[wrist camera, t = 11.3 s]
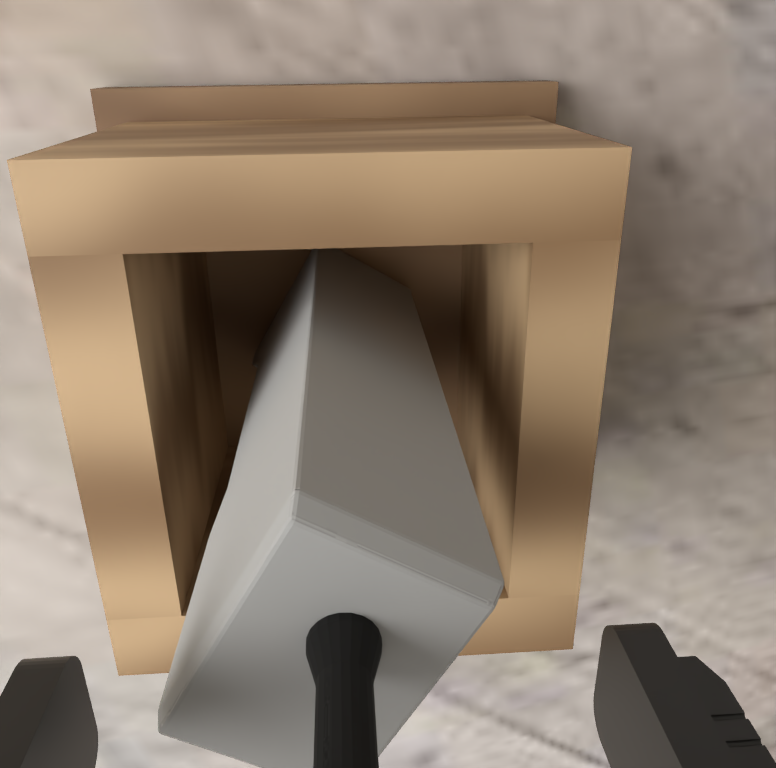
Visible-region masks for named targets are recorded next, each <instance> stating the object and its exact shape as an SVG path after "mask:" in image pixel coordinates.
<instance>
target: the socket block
mask: <svg viewBox="0 0 776 768" xmlns="http://www.w3.org/2000/svg"><path fill="white" fill-rule="evenodd" d="M558 83H559V82H555V81H484V82H420V83H356V84H291V85H227V86H163V87H103V88H96V89H90V91H91V97H92V103H93V109H94V115H95V121H96V127H97V132H95V133H92V134H88V135H85V136H82V137H79V138H76V139H73V140H69V141H66V142H63V143H60V144H57V145H53V146H50V147H47V148H44V149H41V150H38V151H34V152H31V153H28V154H25V155H22V156H18V157H15V158H12V159H9V160H7V163H8V167H9V172H10V177H11V181H12V186H13V190H14V195H15V200H16V204H17V209H18V214H19V218H20V223H21V227H22V232H23V237H24V241H25V246H26V250H27V255H28V260H29V264H30V269H31V274H32V278H33V283H34V287H35V292H36V297H37V301H38V306H39V310H40V315H41V320H42V324H43V329H44V334H45V338H46V343H47V347H48V352H49V357H50V361H51V366H52V370H53V375H54V380H55V384H56V389H57V394H58V398H59V403H60V407H61V412H62V417H63V421H64V426H65V430H66V435H67V440H68V444H69V449H70V454H71V458H72V463H73V467H74V472H75V477H76V481H77V486H78V490H79V495H80V500H81V504H82V509H83V513H84V518H85V523H86V527H87V532H88V537H89V541H90V546H91V550H92V555H93V560H94V564H95V569H96V573H97V578H98V583H99V587H100V592H101V597H102V601H103V606H104V610H105V615H106V620H107V624H108V629H109V633H110V638H111V643H112V647H113V652H114V657H115V661H116V666H117V670H118V675H119V676H121V675H138V674H155V673H169V672H170V668H171V665H172V661H173V658H174V655H175V651H176V648H177V644H178V641H179V638H180V634H181V631H182V627H183V624H184V621H185V617H186V614H187V610H188V607H189V604H190V600H191V597H192V593H193V590H194V587H195V583H196V580H197V576H198V573H199V570H200V566H201V563H202V559H203V556H204V553H205V549H206V546H207V543H208V539H209V536H210V533H211V530H212V528H213V525H214V522H215V520H216V517H217V514H218V512H219V509H220V506H221V504H222V501H223V499H224V496H225V493H226V491H227V488H228V484H229V480H230V476H231V472H232V468H233V464H234V460H235V456H236V452H237V448H238V444H239V440H240V436H241V432H242V428H243V424H244V420H245V416H246V412H247V408H248V404H249V400H250V396H251V392H252V388H253V384H254V380H255V376H256V372H257V367H255V366H253V365H252V362H253V358H254V355H255V353H256V351H257V349H258V347H259V345H260V343H261V342H262V340H263V338H264V336H265V334H266V332H267V331H268V329H269V327H270V325H271V323H272V322H273V320H274V318H275V316H276V314H277V312H278V311H279V309H280V307H281V305H282V303H283V301H284V300H285V298H286V296H287V294H288V292H289V291H290V289H291V287H292V285H293V283H294V281H295V280H296V278H297V276H298V274H299V272H300V270H301V269H302V267H303V265H304V263H305V261H306V259H307V258H308V256H309V254H310V252H311V250H312V249H324V248H337V249H339V250H341V251H342V252H344V253H346V254H348V255H350V256H352V257H353V258H355V259H357V260H359V261H361V262H362V263H364V264H366V265H368V266H370V267H371V268H373V269H375V270H377V271H379V272H380V273H382V274H384V275H386V276H388V277H389V278H391V279H393V280H395V281H397V282H399V283H400V284H402V285H404V286H406V287H408V288H409V289H410V290H411V294H412V297H413V300H414V303H415V306H416V309H417V312H418V315H419V318H420V322H421V325H422V328H423V331H424V334H425V337H426V340H427V343H428V346H429V349H430V353H431V356H432V359H433V362H434V365H435V368H436V371H437V374H438V377H439V381H440V384H441V387H442V390H443V393H444V396H445V399H446V402H447V405H448V408H449V412H450V415H451V418H452V421H453V424H454V427H455V430H456V433H457V436H458V439H459V443H460V446H461V449H462V452H463V455H464V458H465V461H466V464H467V467H468V470H469V474H470V477H471V480H472V483H473V486H474V489H475V492H476V495H477V498H478V501H479V505H480V508H481V511H482V514H483V517H484V520H485V523H486V526H487V529H488V532H489V536H490V539H491V542H492V545H493V548H494V551H495V554H496V557H497V560H498V563H499V567H500V570H501V573H502V576H503V579H504V587H503V590H502V593H501V595H500V597H499V600H498V602H497V605H496V607H495V609H494V610H493V611H492V613H491V614H490V615H489V616H488V618H487V619H486V620H485V622H484V623H483V624H482V625H481V627H480V628H479V629H478V630H477V632H476V633H475V634H474V636H473V637H472V638H471V639H470V641H469V642H468V643H467V645H466V646H465V647H464V648H463V650H462V651H461V652H460V653H459V655H458V656H462V655H479V654H496V653H513V652H530V651H547V650H564V649H573V642H574V633H575V625H576V617H577V608H578V600H579V591H580V583H581V574H582V566H583V557H584V549H585V541H586V532H587V524H588V515H589V507H590V498H591V490H592V481H593V473H594V465H595V456H596V448H597V439H598V431H599V422H600V414H601V405H602V397H603V389H604V380H605V372H606V363H607V355H608V346H609V338H610V330H611V321H612V313H613V304H614V296H615V287H616V279H617V270H618V262H619V254H620V245H621V237H622V228H623V220H624V211H625V203H626V194H627V186H628V178H629V169H630V161H631V152H632V147H630V146H627V145H623V144H620V143H617V142H613V141H610V140H607V139H604V138H600V137H597V136H594V135H590V134H587V133H584V132H581V131H577V130H574V129H571V128H568V127H564V126H561V125H558V124H555V122H556V109H557V96H558Z"/></svg>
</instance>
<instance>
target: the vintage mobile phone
mask: <svg viewBox="0 0 776 768" xmlns="http://www.w3.org/2000/svg"><path fill="white" fill-rule="evenodd" d="M252 365H253V366H255V367H257V372H256V376H255V380H254V384H253V388H252V392H251V396H250V400H249V404H248V408H247V412H246V416H245V420H244V424H243V428H242V432H241V436H240V440H239V444H238V448H237V452H236V456H235V460H234V464H233V468H232V472H231V476H230V480H229V484H228V488H227V491H226V493H225V496H224V499H223V501H222V504H221V506H220V509H219V512H218V514H217V517H216V520H215V522H214V525H213V528H212V530H211V533H210V536H209V539H208V543H207V546H206V549H205V553H204V556H203V559H202V563H201V566H200V570H199V573H198V576H197V580H196V583H195V587H194V590H193V593H192V597H191V600H190V604H189V607H188V610H187V614H186V617H185V621H184V624H183V627H182V631H181V634H180V638H179V641H178V644H177V648H176V651H175V655H174V658H173V661H172V665H171V668H170V672H169V675H168V678H167V682H166V685H165V689H164V692H163V695H162V699H161V702H160V705H159V710H158V731H159V733H161V734H163V735H166V736H169V737H172V738H174V739H177V740H180V741H183V742H186V743H189V744H192V745H195V746H198V747H201V748H204V749H207V750H210V751H213V752H216V753H219V754H222V755H225V756H228V757H231V758H234V759H237V760H240V761H243V762H246V763H249V764H252V765H255V766H258V767H261V768H379V765H378V757H379V755H380V754H381V753H382V752H383V750H384V749H385V748H386V746H387V745H388V744H389V743H390V741H391V740H392V739H393V738H394V736H395V735H396V734H397V732H398V731H399V730H400V729H401V727H402V726H403V725H404V724H405V722H406V721H407V720H408V718H409V717H410V716H411V715H412V713H413V712H414V711H415V710H416V708H417V707H418V706H419V704H420V703H421V702H422V701H423V699H424V698H425V697H426V695H427V694H428V693H429V692H430V690H431V689H432V688H433V687H434V685H435V684H436V683H437V681H438V680H439V679H440V678H441V676H442V675H443V674H444V673H445V671H446V670H447V669H448V667H449V666H450V665H451V664H452V662H453V661H454V660H455V659H456V657H457V656H458V655H459V653H460V652H461V651H462V650H463V648H464V647H465V646H466V645H467V643H468V642H469V641H470V639H471V638H472V637H473V636H474V634H475V633H476V632H477V630H478V629H479V628H480V627H481V625H482V624H483V623H484V622H485V620H486V619H487V618H488V616H489V615H490V614H491V613H492V611H493V610H494V609H495V607H496V605H497V602H498V600H499V597H500V595H501V593H502V590H503V587H504V579H503V576H502V573H501V570H500V567H499V563H498V560H497V557H496V554H495V551H494V548H493V545H492V542H491V539H490V536H489V532H488V529H487V526H486V523H485V520H484V517H483V514H482V511H481V508H480V505H479V501H478V498H477V495H476V492H475V489H474V486H473V483H472V480H471V477H470V474H469V470H468V467H467V464H466V461H465V458H464V455H463V452H462V449H461V446H460V443H459V439H458V436H457V433H456V430H455V427H454V424H453V421H452V418H451V415H450V412H449V408H448V405H447V402H446V399H445V396H444V393H443V390H442V387H441V384H440V381H439V377H438V374H437V371H436V368H435V365H434V362H433V359H432V356H431V353H430V349H429V346H428V343H427V340H426V337H425V334H424V331H423V328H422V325H421V322H420V318H419V315H418V312H417V309H416V306H415V303H414V300H413V297H412V294H411V290H410V289H409V288H408V287H406V286H404V285H402V284H400V283H399V282H397V281H395V280H393V279H391V278H389V277H388V276H386V275H384V274H382V273H380V272H379V271H377V270H375V269H373V268H371V267H370V266H368V265H366V264H364V263H362V262H361V261H359V260H357V259H355V258H353V257H352V256H350V255H348V254H346V253H344V252H342V251H341V250H339V249H337V248H324V249H312V250H311V252H310V254H309V256H308V258H307V259H306V261H305V263H304V265H303V267H302V269H301V270H300V272H299V274H298V276H297V278H296V280H295V281H294V283H293V285H292V287H291V289H290V291H289V292H288V294H287V296H286V298H285V300H284V301H283V303H282V305H281V307H280V309H279V311H278V312H277V314H276V316H275V318H274V320H273V322H272V323H271V325H270V327H269V329H268V331H267V332H266V334H265V336H264V338H263V340H262V342H261V343H260V345H259V347H258V349H257V351H256V353H255V355H254V358H253V362H252Z"/></svg>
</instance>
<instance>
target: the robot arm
mask: <svg viewBox="0 0 776 768" xmlns="http://www.w3.org/2000/svg"><path fill="white" fill-rule="evenodd" d="M594 715H595V721H596V726H597V731H598V734H599V738H600V741H601V743H602V746H603V748H604V751H605V754H606V756H607V759H608V761H609V764H610V767H611V768H776V763H775V761H774V759H773V758H772V756H771V755H770V753H769V751H768V750H767V748H766V746H765V745H763V746H762V744H761V738H760V737H759V735H758V734H757V732H756V730H755V729H754V727H753V726H752V724H751V722H750V721H749V719H746V718H745V715H744V711H743V710H742V708H741V706H740V705H739V703H738V702H737V700H736V698H735V697H734V695H733V693H732V692H731V690H730V689H729V687H728V685H727V684H726V682H725V681H724V680H723V679H721V678H720V677H719V676H718V675H717V674H716V673H714V672H713V671H712V670H711V669H710V668H709V667H708V666H706V665H705V664H704V663H703V662H702V661H701V660H699V659H698V658H697V657H696V656H689V657H677V655H676V654H675V652H674V650H673V648H672V647H671V645H670V643H669V641H668V640H667V638H666V636H665V634H664V633H663V631H662V629H661V628H660V627H659V626H658V625H657V624H655V623H642V624H625V625H609V626H606V627H605V629H604V631H603V635H602V641H601V649H600V656H599V663H598V670H597V677H596V684H595V691H594ZM97 751H98V731H97V725H96V721H95V717H94V713H93V709H92V705H91V701H90V697H89V693H88V689H87V685H86V681H85V677H84V673H83V669H82V665H81V662H80V660H79V659H78V657H76V656H66V657H49V658H32V659H23V660H21V661H20V662H19V663H18V664H17V666H16V667H15V669H14V671H13V673H12V675H11V677H10V679H9V681H8V683H7V684H6V686H5V688H4V690H3V692H2V694H1V696H0V768H95V765H96V759H97Z"/></svg>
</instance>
